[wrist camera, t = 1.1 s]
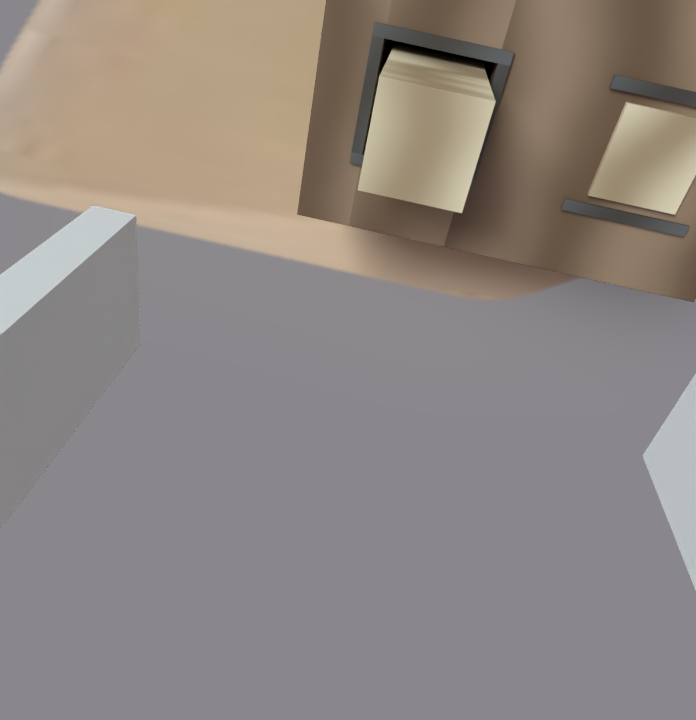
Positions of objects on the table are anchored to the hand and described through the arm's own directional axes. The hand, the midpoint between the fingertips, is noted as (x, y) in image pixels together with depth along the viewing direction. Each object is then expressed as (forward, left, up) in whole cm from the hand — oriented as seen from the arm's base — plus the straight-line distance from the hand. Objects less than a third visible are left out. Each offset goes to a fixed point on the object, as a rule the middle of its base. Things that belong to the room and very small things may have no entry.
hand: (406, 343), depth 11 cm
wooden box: (-5, 0, -28) cm, 28 cm away
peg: (0, 0, -21) cm, 21 cm away
